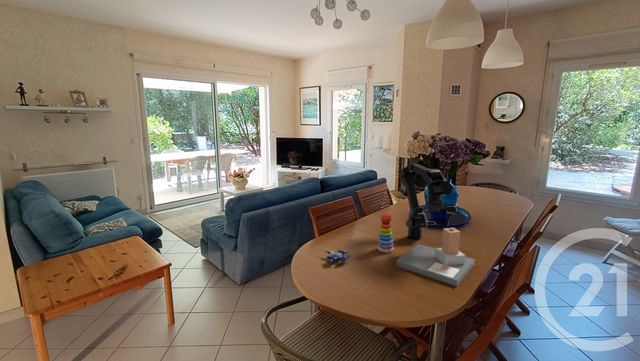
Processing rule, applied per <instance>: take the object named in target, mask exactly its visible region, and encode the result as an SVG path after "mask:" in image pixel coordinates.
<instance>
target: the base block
mask: <svg viewBox="0 0 640 361" xmlns="http://www.w3.org/2000/svg"><path fill="white" fill-rule="evenodd" d="M434 248H435V257H436V258H437V259H438V260H440V261H441V262H442V263H443V264H444V265H457V264H465V257H466V254H465V253H463V252H462V251H460V250H459V253H458V254H447V253H445V252H444V251H443V250H442V247H434Z"/></svg>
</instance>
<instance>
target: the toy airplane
mask: <svg viewBox="0 0 640 361" xmlns="http://www.w3.org/2000/svg"><path fill="white" fill-rule="evenodd" d="M320 250H321V251H323V252H325V253H327V254H328V256H327V255H326V259H327V261H328V262H337V261H338V262H337V264H338V265H340V264H341V262H342V263H343V262H345V261H348V259H349V258H350V257H351V255H349V254H348V253H349V251H347V250H337V252H334V251H332V250H323V249H320Z"/></svg>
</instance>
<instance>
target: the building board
mask: <svg viewBox="0 0 640 361" xmlns="http://www.w3.org/2000/svg"><path fill="white" fill-rule="evenodd" d="M435 248H436V247H431V246H427V245H423V244H419V243H418V244H417V245H415V246H414V247H413V248H411V249H410V250H409V251H407V252H406V253H404V255H402V256H400V257H399V258H398V259H396V260H395V266H396V267H398V268H401V269H404V270H407V271H410V272H413V273H416V274H419V275H422V276H424V277H427V278H430V279H434V280H436V281H440V282H443V283H444V284H445V283H446V284H448V285H450V286H454V287H458V285H459V284H460V283H462V281H463V280H464V278H465V277H466V276H467V274H468V273H469V272H470V271H471V270H472V269H473V267H474V266H475V262H476V259H473V258H472V257H471V258H470V257H468V256H465V264H457V265H444V264H443V263H442V262H441V261H440V260H438V259H437V258H436V257H435Z"/></svg>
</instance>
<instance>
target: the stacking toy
mask: <svg viewBox="0 0 640 361" xmlns="http://www.w3.org/2000/svg"><path fill="white" fill-rule="evenodd" d="M380 221H381V223H380V228H379V230H380V231H379V235H378V237H379V238H378V242H377V248H376V249H377V250H378V251H379V252H382V253H387V254H388V253H392V252H393V251H394V249H395V248H394V243H393V242H394V240H393V232H392V227H391V226H392V224H391V221H392V216H391V215H390V214H389V213H383V214H381V215H380Z"/></svg>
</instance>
